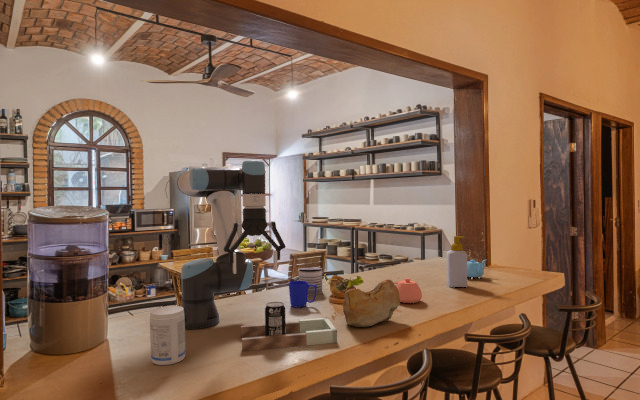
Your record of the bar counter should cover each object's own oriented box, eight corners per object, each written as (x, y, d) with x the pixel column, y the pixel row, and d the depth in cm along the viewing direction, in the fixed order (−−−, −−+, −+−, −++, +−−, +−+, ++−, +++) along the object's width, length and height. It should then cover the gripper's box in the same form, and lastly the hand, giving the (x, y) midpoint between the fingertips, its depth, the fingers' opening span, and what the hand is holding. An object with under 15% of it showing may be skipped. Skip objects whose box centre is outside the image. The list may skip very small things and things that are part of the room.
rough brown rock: (380, 312, 172) (376, 275, 173) (407, 319, 158) (403, 279, 158) (330, 324, 161) (327, 284, 161) (355, 332, 146) (351, 289, 147)
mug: (314, 309, 175) (314, 285, 175) (286, 308, 178) (286, 284, 178) (318, 304, 183) (318, 281, 183) (291, 303, 186) (291, 280, 186)
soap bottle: (467, 288, 209) (467, 237, 209) (449, 287, 211) (448, 237, 210) (464, 284, 218) (464, 235, 218) (446, 284, 220) (446, 235, 219)
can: (295, 294, 202) (294, 269, 202) (303, 289, 213) (303, 265, 213) (318, 295, 198) (317, 270, 198) (325, 290, 209) (325, 266, 209)
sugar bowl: (420, 306, 178) (420, 282, 178) (387, 303, 183) (387, 280, 182) (423, 299, 190) (423, 276, 190) (392, 297, 194) (391, 274, 194)
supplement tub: (175, 351, 131) (174, 303, 130) (192, 359, 124) (191, 309, 124) (144, 360, 124) (143, 310, 123) (160, 369, 117) (159, 316, 117)
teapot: (458, 279, 232) (458, 260, 232) (462, 274, 243) (462, 257, 243) (483, 281, 226) (483, 262, 225) (486, 276, 237) (486, 258, 237)
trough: (242, 351, 130) (242, 339, 130) (240, 336, 144) (240, 325, 143) (306, 345, 134) (306, 334, 134) (299, 331, 148) (299, 321, 148)
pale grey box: (306, 345, 134) (306, 332, 134) (299, 331, 148) (299, 319, 148) (337, 342, 136) (337, 330, 136) (327, 328, 150) (327, 317, 150)
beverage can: (275, 335, 144) (275, 300, 143) (289, 339, 139) (289, 303, 139) (261, 341, 139) (260, 304, 138) (275, 345, 134) (274, 307, 134)
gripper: (216, 208, 133) (217, 276, 133) (293, 206, 141) (294, 270, 141) (214, 208, 140) (215, 272, 140) (288, 206, 148) (289, 267, 148)
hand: (255, 271), depth 141 cm, fingers open, 13 cm apart
